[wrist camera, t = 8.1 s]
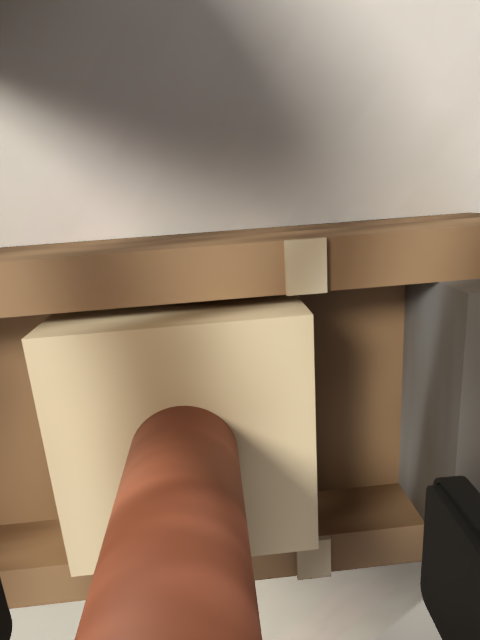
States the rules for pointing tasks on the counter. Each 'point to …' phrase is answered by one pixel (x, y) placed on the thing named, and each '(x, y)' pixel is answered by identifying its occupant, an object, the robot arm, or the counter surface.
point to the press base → (329, 361)
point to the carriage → (178, 457)
